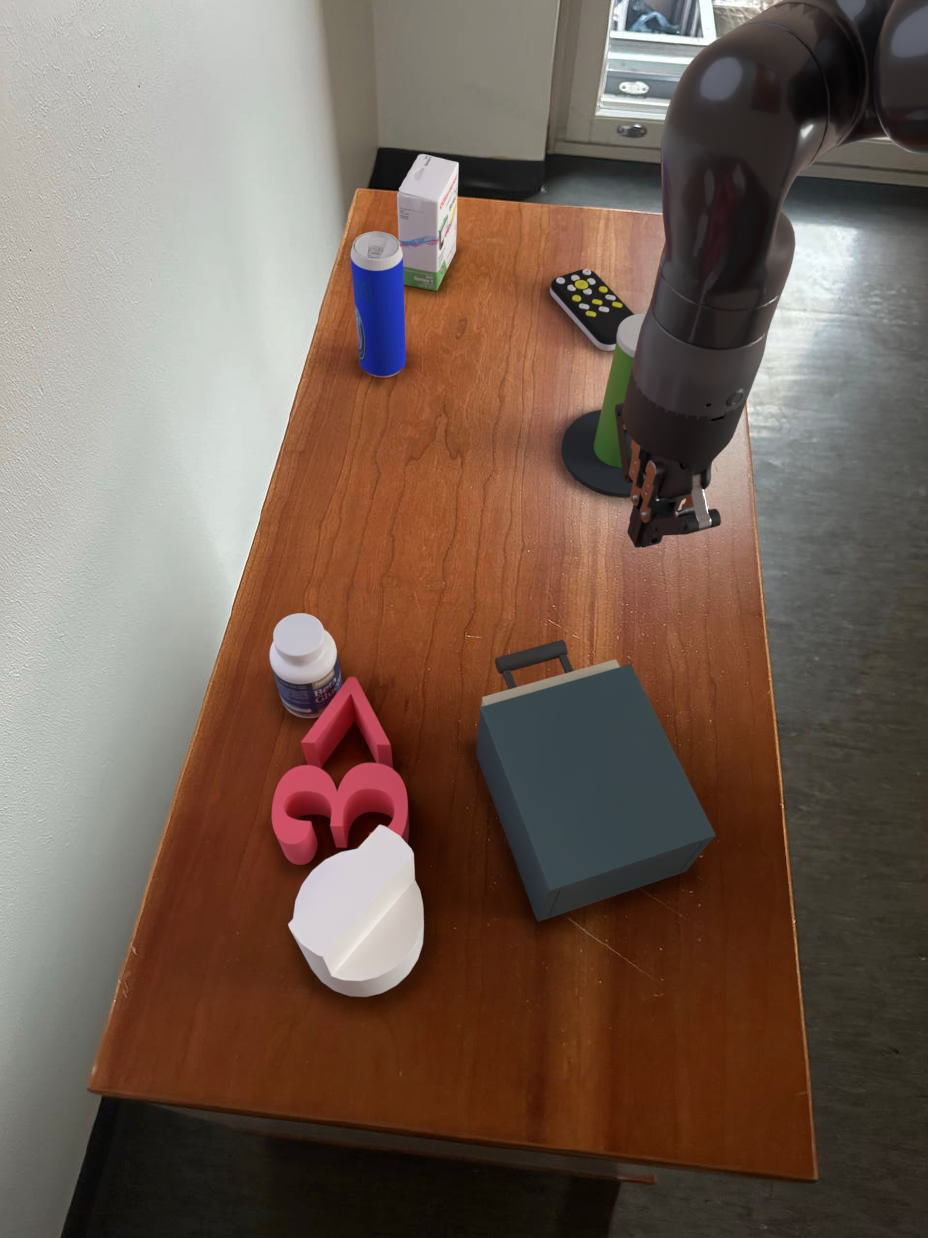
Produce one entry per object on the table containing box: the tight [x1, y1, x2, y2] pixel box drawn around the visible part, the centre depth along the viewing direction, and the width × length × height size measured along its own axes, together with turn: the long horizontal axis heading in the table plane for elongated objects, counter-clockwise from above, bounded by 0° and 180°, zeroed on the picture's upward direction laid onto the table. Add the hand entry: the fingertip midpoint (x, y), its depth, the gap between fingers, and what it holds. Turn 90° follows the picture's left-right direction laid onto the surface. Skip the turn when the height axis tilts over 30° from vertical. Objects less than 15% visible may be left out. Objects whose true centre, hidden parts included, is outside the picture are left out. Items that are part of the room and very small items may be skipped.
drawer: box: [480, 639, 621, 707], centre depth 71 cm, size 18×11×7 cm, turn 18°
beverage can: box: [350, 230, 407, 379], centre depth 94 cm, size 5×5×15 cm
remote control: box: [549, 268, 636, 352], centre depth 105 cm, size 6×13×2 cm, turn 28°
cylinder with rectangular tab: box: [287, 824, 425, 998], centre depth 62 cm, size 9×9×12 cm
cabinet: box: [475, 663, 716, 923], centre depth 69 cm, size 15×13×9 cm
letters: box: [271, 676, 410, 866], centre depth 71 cm, size 14×10×5 cm
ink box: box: [396, 153, 460, 292], centre depth 104 cm, size 8×5×12 cm, turn 164°
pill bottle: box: [269, 612, 343, 719], centre depth 74 cm, size 5×5×10 cm
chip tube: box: [594, 313, 646, 468], centre depth 87 cm, size 6×6×15 cm
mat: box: [560, 409, 632, 498], centre depth 94 cm, size 12×12×1 cm
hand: (642, 538), depth 70 cm, fingers closed
